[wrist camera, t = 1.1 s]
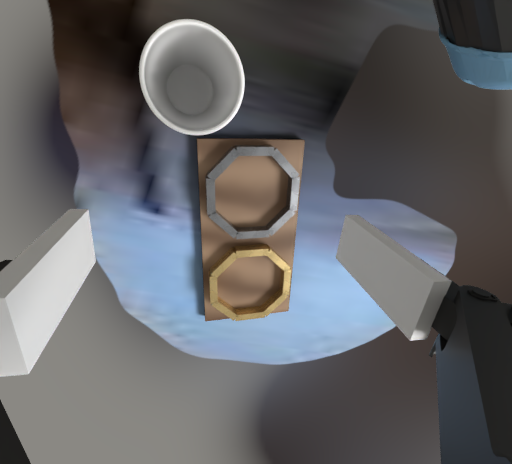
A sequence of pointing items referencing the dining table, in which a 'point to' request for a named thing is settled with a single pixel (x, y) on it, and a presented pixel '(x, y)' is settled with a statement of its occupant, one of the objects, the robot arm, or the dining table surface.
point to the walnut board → (246, 220)
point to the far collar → (257, 310)
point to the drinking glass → (191, 77)
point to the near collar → (279, 218)
